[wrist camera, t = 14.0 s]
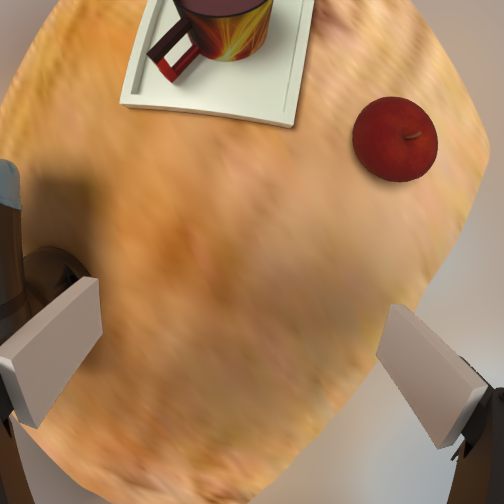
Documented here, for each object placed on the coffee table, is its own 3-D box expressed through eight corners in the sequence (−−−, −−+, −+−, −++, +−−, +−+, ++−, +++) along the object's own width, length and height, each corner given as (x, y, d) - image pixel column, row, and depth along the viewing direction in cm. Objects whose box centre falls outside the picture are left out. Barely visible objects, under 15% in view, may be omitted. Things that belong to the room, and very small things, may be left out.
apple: (375, 194, 37) (414, 204, 28) (324, 139, 35) (351, 130, 26) (418, 146, 36) (463, 144, 26) (371, 91, 34) (408, 72, 24)
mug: (167, 84, 32) (136, 51, 21) (202, -6, 29) (189, -59, 17) (246, 101, 33) (248, 70, 22) (276, 8, 30) (288, -45, 18)
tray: (127, 107, 34) (119, 103, 31) (164, -20, 29) (160, -31, 26) (289, 128, 35) (293, 125, 32) (311, -4, 30) (316, -15, 27)
